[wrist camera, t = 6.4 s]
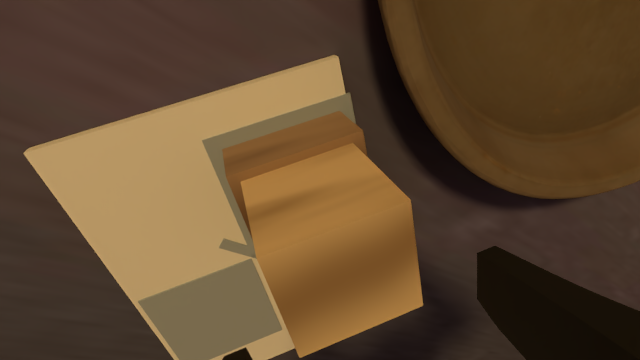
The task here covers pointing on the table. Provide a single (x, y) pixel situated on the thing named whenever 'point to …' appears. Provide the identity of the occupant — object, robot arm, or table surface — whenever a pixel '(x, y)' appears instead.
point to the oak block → (333, 246)
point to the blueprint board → (187, 207)
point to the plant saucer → (526, 88)
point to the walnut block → (287, 150)
